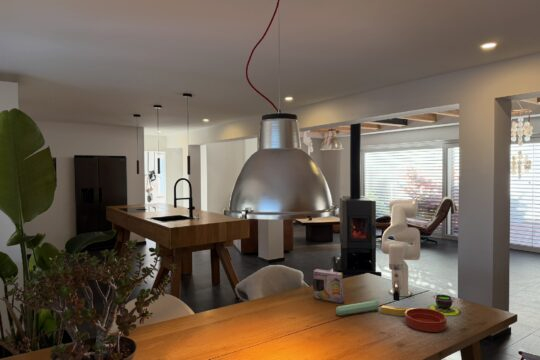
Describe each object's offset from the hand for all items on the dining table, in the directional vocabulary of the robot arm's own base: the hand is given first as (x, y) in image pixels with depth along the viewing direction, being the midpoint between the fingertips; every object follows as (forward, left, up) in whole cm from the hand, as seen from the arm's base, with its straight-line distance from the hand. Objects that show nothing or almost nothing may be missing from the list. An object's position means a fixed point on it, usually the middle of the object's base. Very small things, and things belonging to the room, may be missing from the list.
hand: (396, 297), depth 205 cm
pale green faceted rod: (+5, -21, -9) cm, 23 cm away
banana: (0, 0, -9) cm, 9 cm away
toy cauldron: (-13, +25, -9) cm, 30 cm away
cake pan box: (-11, -40, -9) cm, 43 cm away
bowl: (+11, +14, -9) cm, 20 cm away
